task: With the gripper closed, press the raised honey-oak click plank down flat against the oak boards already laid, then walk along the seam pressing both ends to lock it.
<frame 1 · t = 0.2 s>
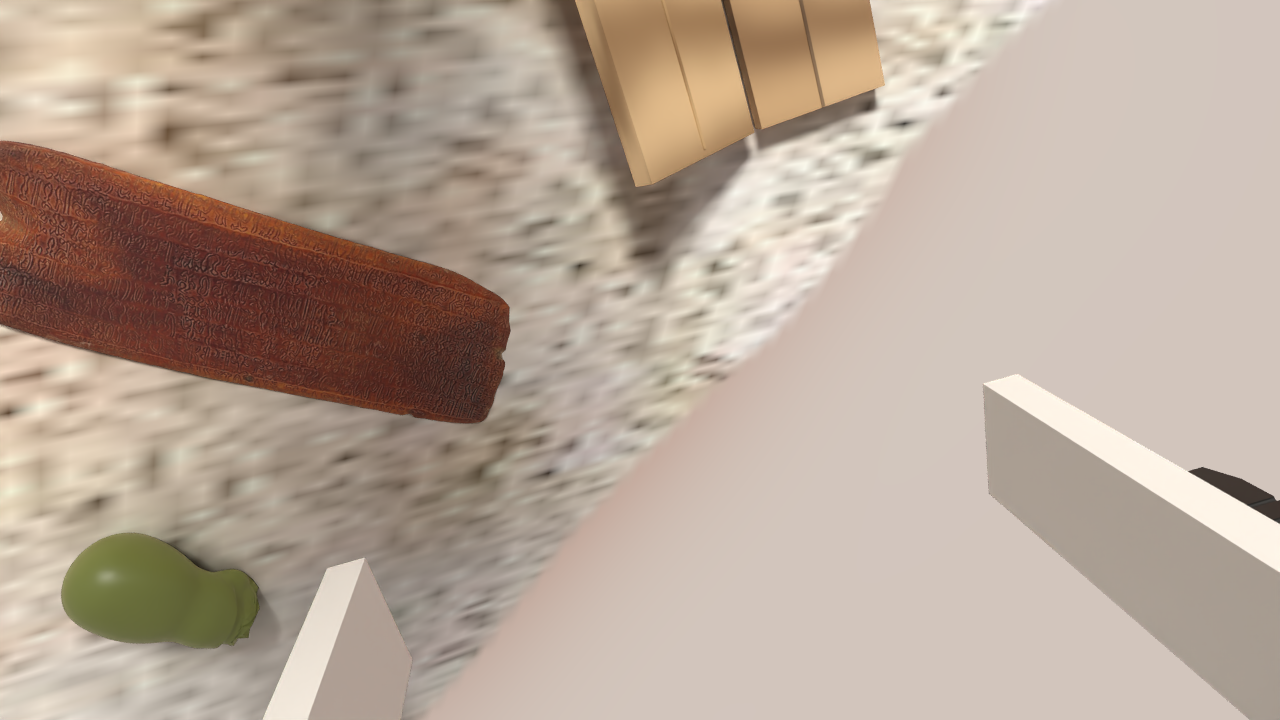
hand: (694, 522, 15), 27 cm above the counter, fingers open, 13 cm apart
pear: (186, 570, 44), on the counter
wooden tablet: (268, 302, 39), on the counter
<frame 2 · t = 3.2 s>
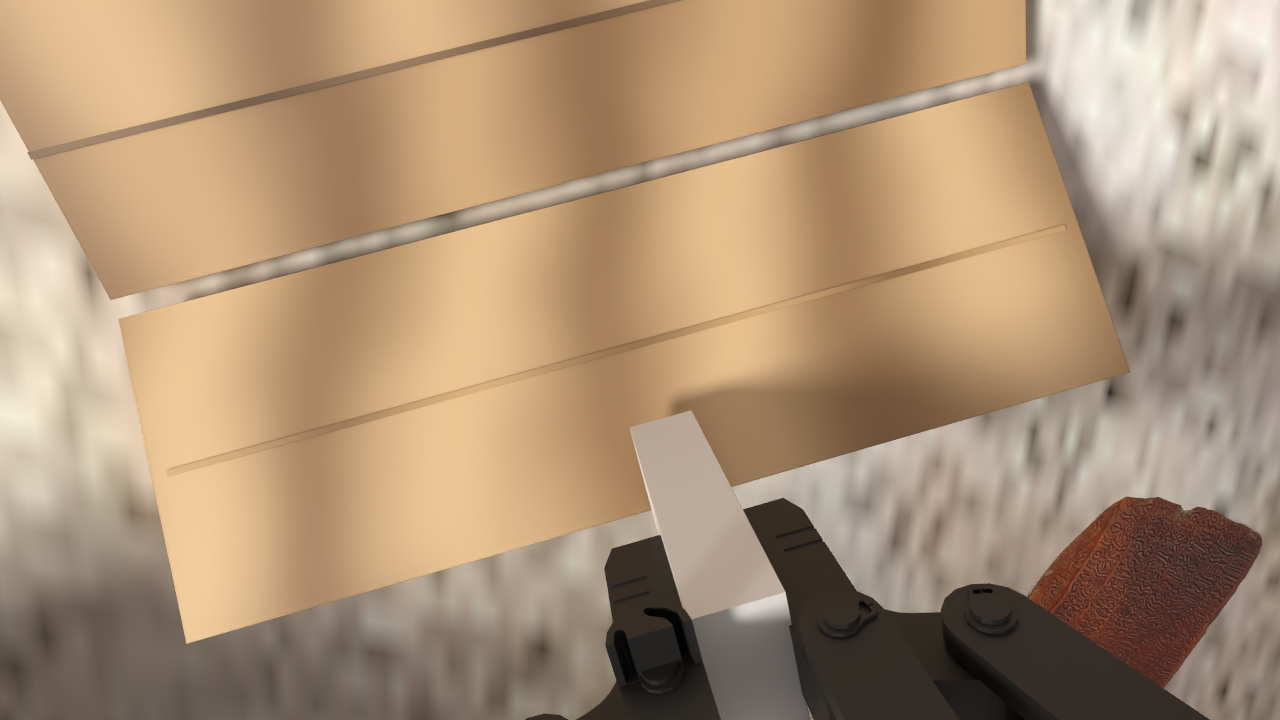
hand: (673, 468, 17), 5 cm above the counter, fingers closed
plank: (632, 348, 18), point 3 cm above the counter, hinge at 28.3°, touching gripper
laid boards: (546, 32, 18), on the counter
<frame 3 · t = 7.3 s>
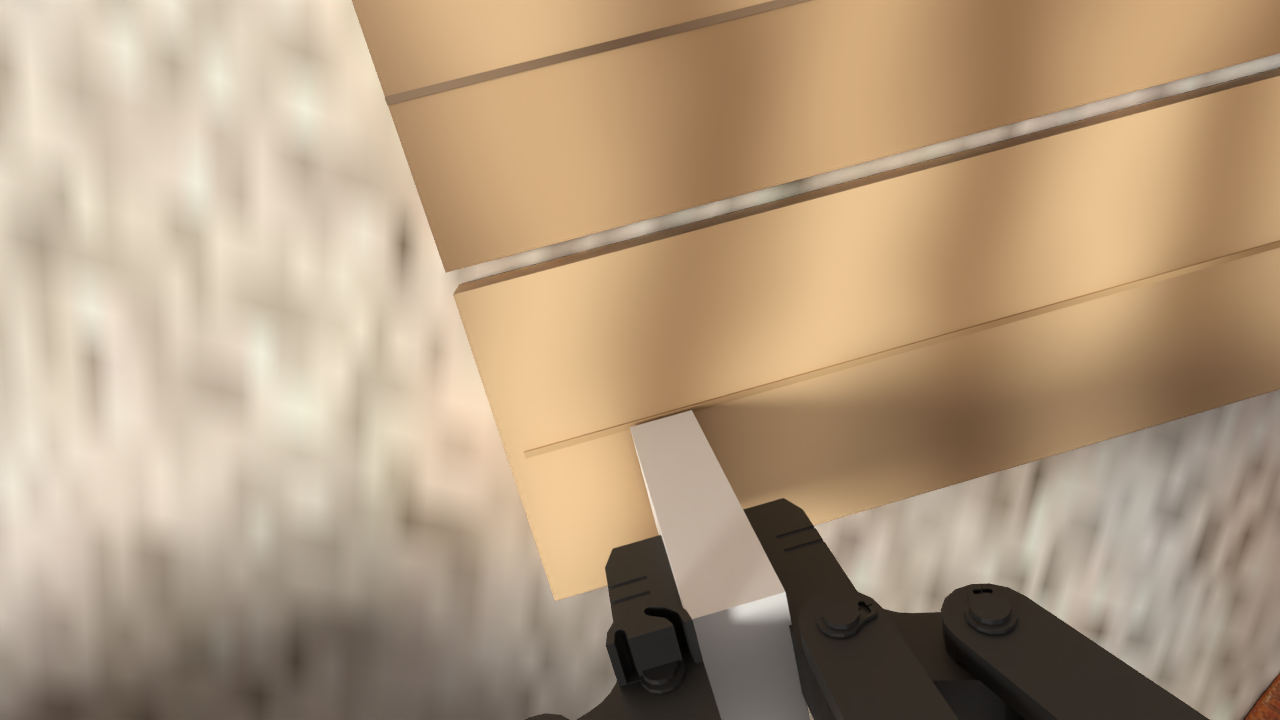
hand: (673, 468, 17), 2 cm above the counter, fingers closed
plank: (979, 318, 18), point 1 cm above the counter, hinge at 3.9°, touching gripper
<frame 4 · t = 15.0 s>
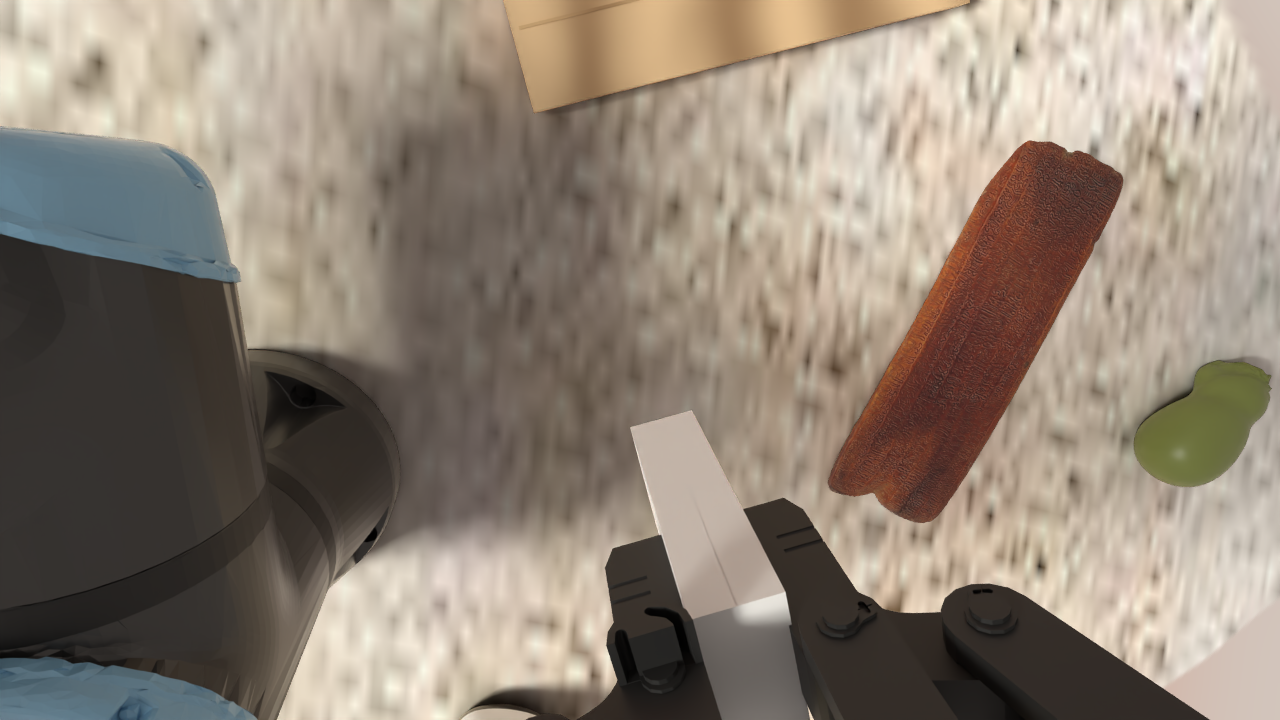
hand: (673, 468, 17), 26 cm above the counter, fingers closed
pear: (1175, 408, 52), on the counter
wooden tablet: (966, 339, 48), on the counter
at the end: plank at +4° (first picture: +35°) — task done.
